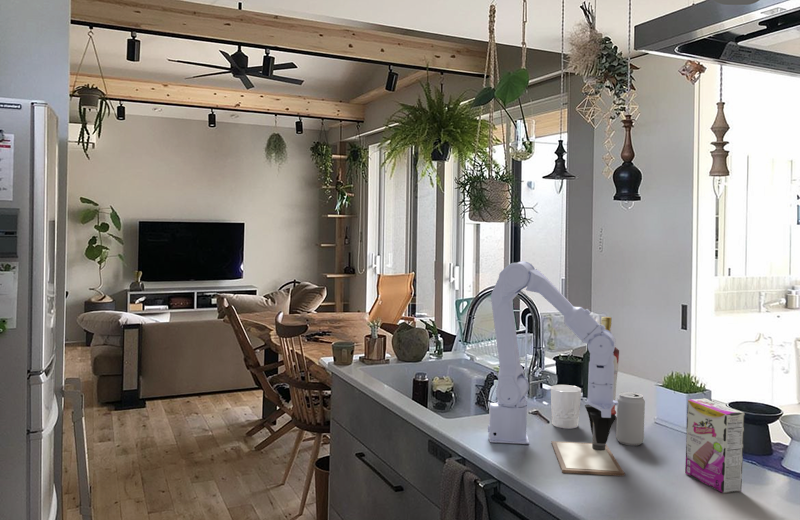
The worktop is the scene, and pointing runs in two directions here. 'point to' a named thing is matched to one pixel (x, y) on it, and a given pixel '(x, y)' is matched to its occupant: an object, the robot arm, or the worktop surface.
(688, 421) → the candy bar box
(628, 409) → the beverage can
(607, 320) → the liquor
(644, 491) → the worktop surface
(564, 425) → the white cup
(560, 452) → the writing board
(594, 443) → the grey yellow rounded cylinder
